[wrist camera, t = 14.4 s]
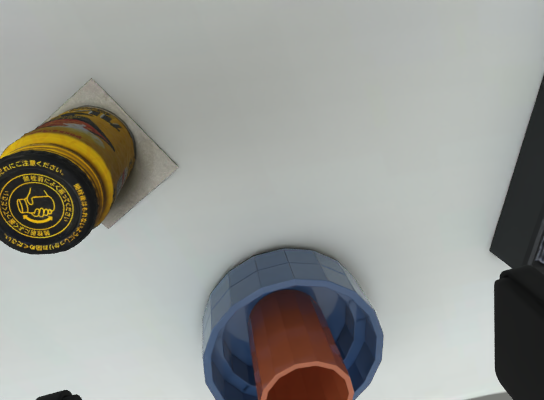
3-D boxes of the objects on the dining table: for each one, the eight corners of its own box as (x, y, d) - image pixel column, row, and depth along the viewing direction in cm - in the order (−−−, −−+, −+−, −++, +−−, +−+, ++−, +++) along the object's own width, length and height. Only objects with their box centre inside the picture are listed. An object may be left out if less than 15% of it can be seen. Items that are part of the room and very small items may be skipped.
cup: (288, 274, 37) (312, 344, 29) (336, 319, 40) (372, 396, 31) (231, 323, 38) (239, 404, 30) (281, 364, 41) (302, 450, 32)
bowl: (291, 212, 36) (305, 242, 31) (390, 312, 41) (416, 352, 36) (168, 320, 38) (162, 365, 33) (277, 403, 43) (287, 453, 38)
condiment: (92, 77, 30) (28, 105, 19) (179, 167, 33) (167, 235, 22) (17, 146, 31) (-86, 211, 20) (109, 227, 34) (64, 322, 23)
